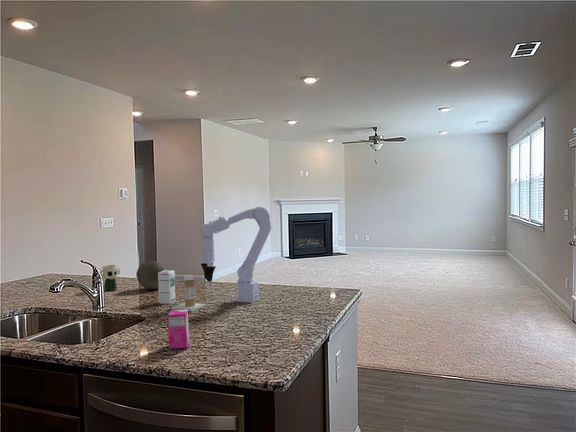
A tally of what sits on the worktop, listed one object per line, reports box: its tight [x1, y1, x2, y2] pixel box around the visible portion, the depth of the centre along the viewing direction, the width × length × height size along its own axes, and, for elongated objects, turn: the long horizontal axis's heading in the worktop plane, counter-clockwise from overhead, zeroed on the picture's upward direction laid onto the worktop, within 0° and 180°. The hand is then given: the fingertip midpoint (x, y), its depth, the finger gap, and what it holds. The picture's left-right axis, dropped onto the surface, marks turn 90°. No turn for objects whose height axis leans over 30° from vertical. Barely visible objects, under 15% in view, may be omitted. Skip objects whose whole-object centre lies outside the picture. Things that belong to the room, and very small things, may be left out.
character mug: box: [99, 264, 121, 291], centre depth 236 cm, size 11×7×13 cm, turn 139°
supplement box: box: [167, 309, 190, 351], centre depth 144 cm, size 6×6×12 cm
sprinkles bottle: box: [183, 274, 196, 307], centre depth 196 cm, size 5×5×14 cm
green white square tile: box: [170, 302, 207, 312], centre depth 197 cm, size 11×11×1 cm
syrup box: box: [158, 269, 177, 305], centre depth 206 cm, size 6×6×14 cm
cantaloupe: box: [135, 260, 165, 290], centre depth 236 cm, size 14×14×15 cm
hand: (208, 280), depth 204 cm, fingers open, 7 cm apart
